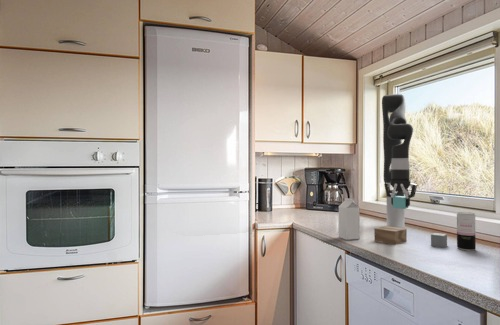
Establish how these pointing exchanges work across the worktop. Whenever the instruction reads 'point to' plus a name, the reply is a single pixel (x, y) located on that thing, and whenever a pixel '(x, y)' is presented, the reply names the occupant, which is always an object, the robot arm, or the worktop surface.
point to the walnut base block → (390, 235)
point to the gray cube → (439, 240)
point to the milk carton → (349, 220)
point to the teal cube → (399, 202)
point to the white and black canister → (466, 231)
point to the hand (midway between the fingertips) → (400, 206)
